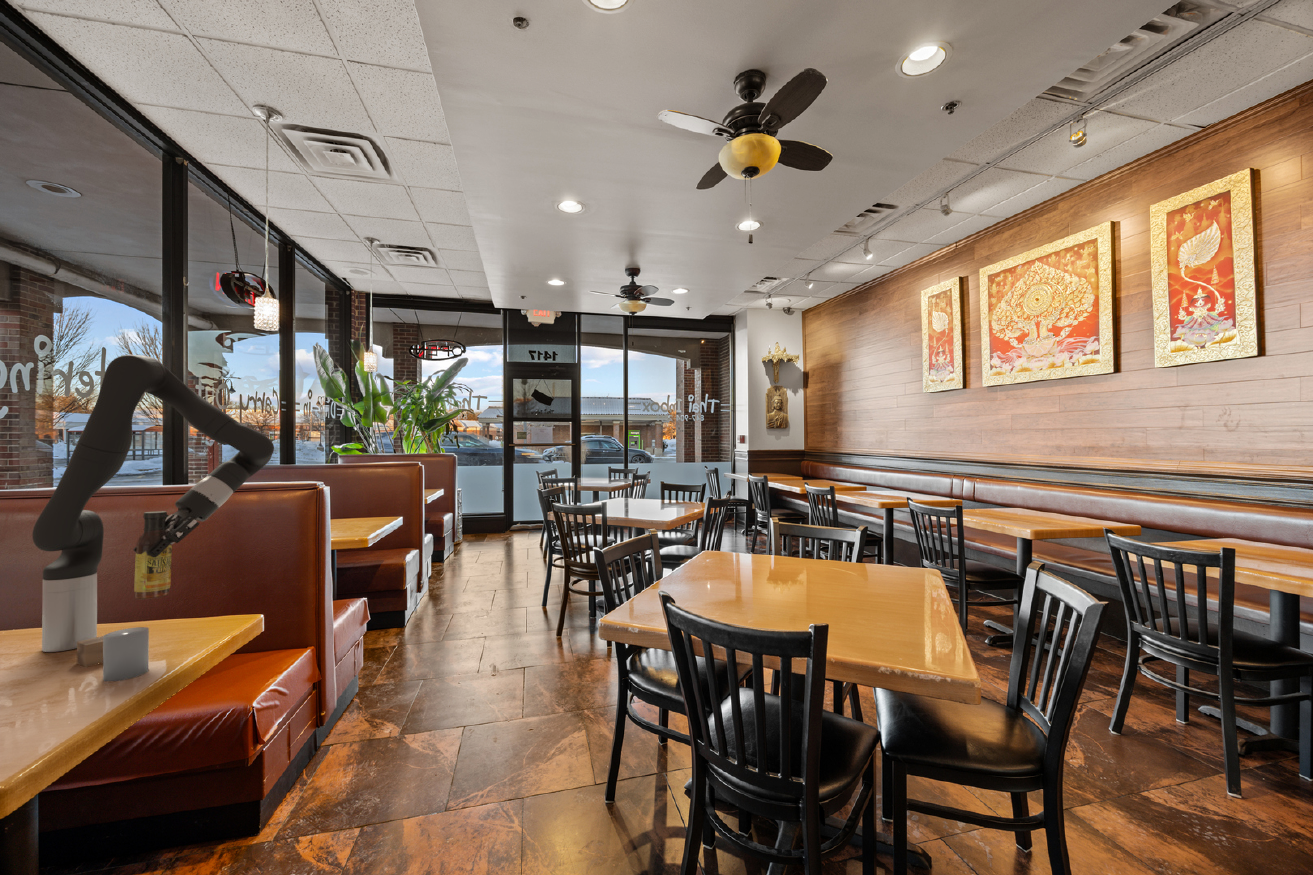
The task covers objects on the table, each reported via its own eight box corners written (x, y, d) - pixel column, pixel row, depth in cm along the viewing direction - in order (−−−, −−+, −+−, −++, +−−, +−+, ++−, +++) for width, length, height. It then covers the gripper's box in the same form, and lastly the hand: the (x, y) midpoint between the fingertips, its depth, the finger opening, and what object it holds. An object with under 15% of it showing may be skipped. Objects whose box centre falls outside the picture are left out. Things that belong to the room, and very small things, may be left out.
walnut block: (76, 663, 123) (77, 641, 123) (107, 656, 127) (107, 634, 127) (85, 667, 120) (85, 645, 121) (115, 659, 125) (115, 638, 125)
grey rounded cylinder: (97, 677, 115) (97, 635, 115) (140, 665, 121) (140, 625, 121) (110, 684, 112) (111, 640, 112) (154, 671, 118) (154, 629, 118)
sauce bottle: (148, 601, 123) (148, 513, 123) (126, 600, 124) (126, 513, 124) (178, 593, 129) (178, 510, 130) (158, 592, 131) (158, 510, 131)
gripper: (178, 487, 137) (115, 542, 126) (206, 489, 130) (142, 547, 120) (203, 506, 142) (144, 560, 131) (232, 508, 135) (172, 566, 124)
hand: (143, 553), depth 125 cm, fingers closed on sauce bottle, 6 cm apart
